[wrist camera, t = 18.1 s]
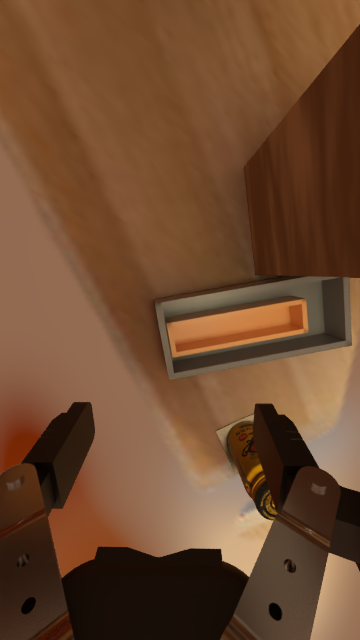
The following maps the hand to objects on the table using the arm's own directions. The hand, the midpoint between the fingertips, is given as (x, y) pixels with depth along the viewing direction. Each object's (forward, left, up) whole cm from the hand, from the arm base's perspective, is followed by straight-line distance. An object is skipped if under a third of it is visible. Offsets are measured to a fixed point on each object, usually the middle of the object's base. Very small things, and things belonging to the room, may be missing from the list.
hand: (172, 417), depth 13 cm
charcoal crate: (+9, +8, -24) cm, 27 cm away
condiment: (+23, -7, -25) cm, 34 cm away
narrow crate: (+7, +6, -24) cm, 26 cm away
